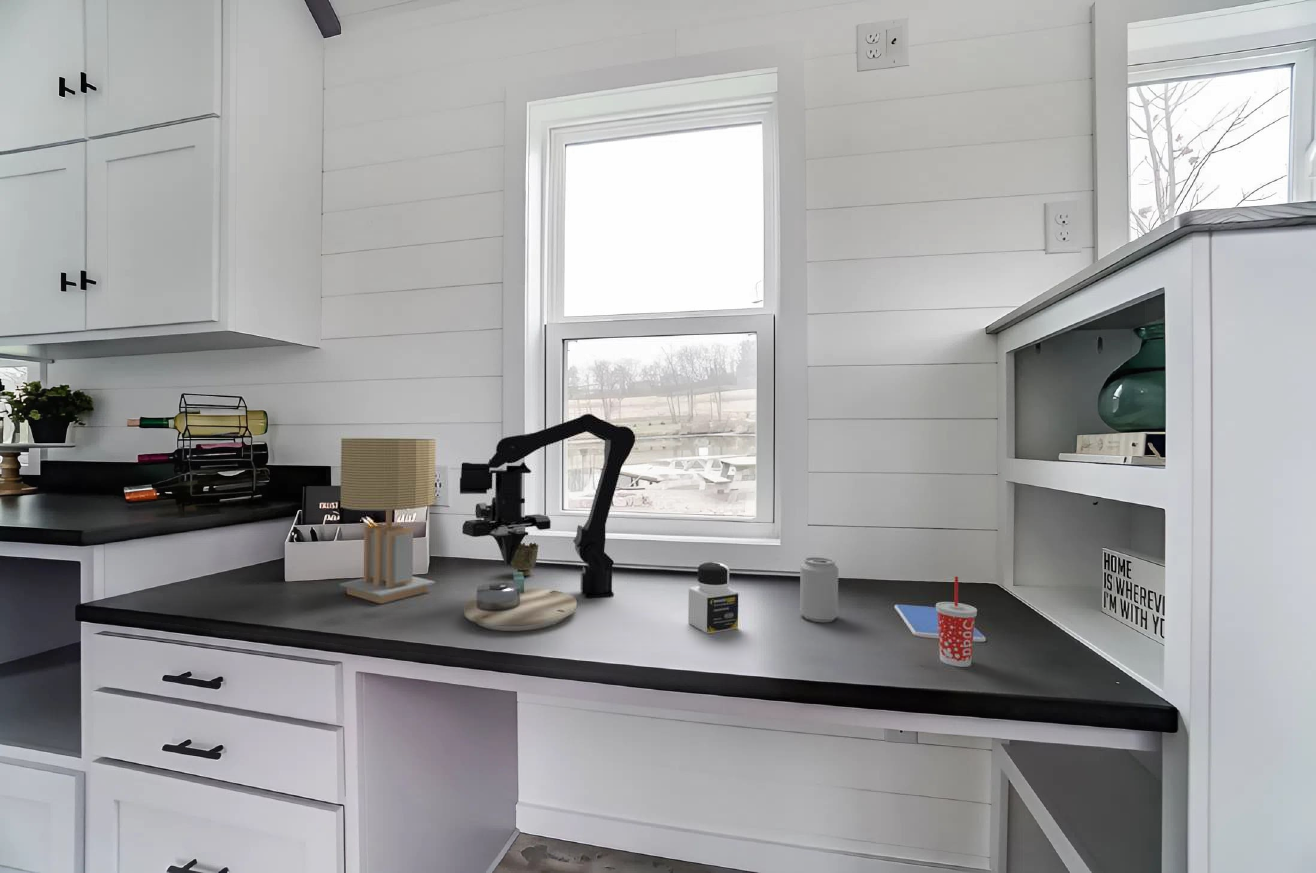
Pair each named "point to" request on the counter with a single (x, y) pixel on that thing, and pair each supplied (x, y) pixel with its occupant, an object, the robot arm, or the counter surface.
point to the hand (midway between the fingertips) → (507, 563)
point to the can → (819, 589)
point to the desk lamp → (387, 509)
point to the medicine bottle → (713, 600)
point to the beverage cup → (956, 631)
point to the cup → (525, 558)
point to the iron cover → (498, 596)
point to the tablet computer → (926, 621)
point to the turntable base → (520, 628)
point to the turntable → (526, 608)
